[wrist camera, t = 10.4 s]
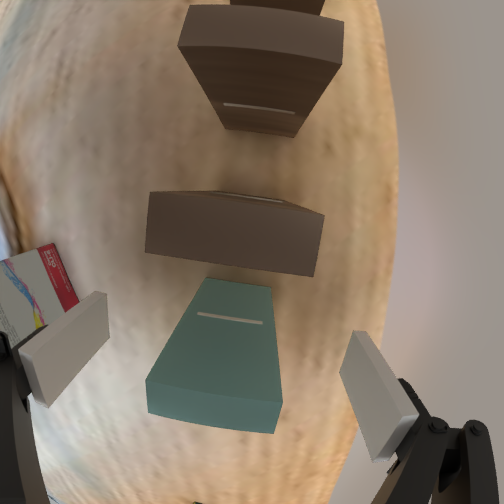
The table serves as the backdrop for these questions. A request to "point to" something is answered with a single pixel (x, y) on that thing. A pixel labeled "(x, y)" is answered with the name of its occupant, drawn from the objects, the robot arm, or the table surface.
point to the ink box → (33, 292)
